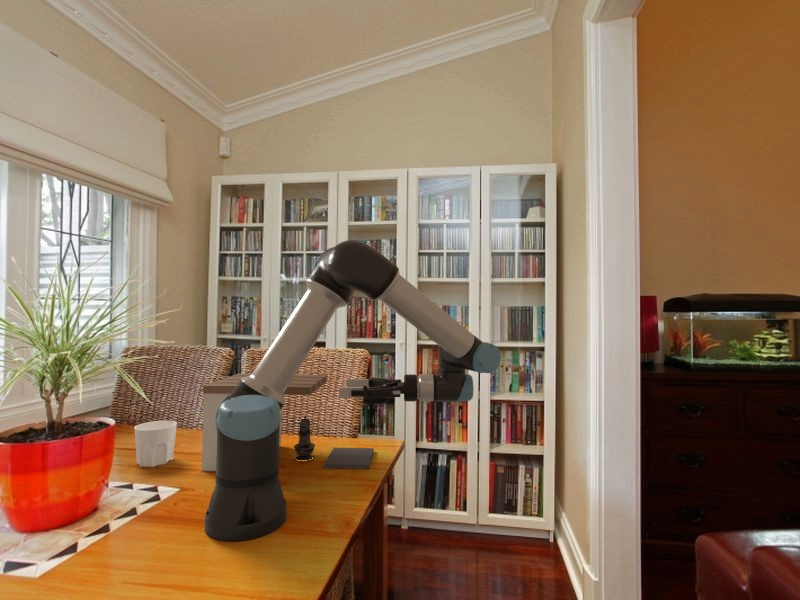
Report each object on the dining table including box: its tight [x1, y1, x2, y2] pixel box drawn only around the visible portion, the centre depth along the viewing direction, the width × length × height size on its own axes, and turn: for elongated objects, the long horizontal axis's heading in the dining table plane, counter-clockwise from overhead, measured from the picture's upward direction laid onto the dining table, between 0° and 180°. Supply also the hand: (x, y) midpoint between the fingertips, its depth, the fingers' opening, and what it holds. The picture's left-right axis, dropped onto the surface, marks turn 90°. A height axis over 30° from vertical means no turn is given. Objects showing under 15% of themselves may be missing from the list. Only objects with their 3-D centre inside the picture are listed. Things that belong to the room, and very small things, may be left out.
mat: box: [323, 446, 375, 470], centre depth 116 cm, size 14×12×1 cm
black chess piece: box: [293, 415, 316, 460], centre depth 116 cm, size 6×6×12 cm
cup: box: [133, 420, 178, 468], centre depth 112 cm, size 10×10×10 cm
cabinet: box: [201, 373, 328, 472], centre depth 117 cm, size 22×28×22 cm
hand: (343, 387), depth 117 cm, fingers open, 13 cm apart
